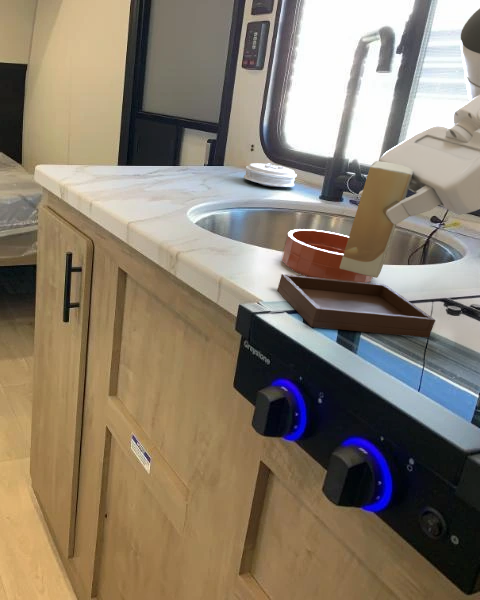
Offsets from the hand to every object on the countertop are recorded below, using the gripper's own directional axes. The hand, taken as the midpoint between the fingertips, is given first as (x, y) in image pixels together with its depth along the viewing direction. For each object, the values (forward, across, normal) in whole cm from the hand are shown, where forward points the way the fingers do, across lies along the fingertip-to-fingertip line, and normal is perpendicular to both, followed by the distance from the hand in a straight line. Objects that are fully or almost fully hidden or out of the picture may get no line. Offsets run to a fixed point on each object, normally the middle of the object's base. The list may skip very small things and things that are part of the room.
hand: (374, 208), depth 69 cm
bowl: (+8, -16, +11) cm, 21 cm away
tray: (+9, 0, +10) cm, 13 cm away
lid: (+5, -87, +14) cm, 88 cm away
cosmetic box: (+5, 0, +6) cm, 7 cm away
